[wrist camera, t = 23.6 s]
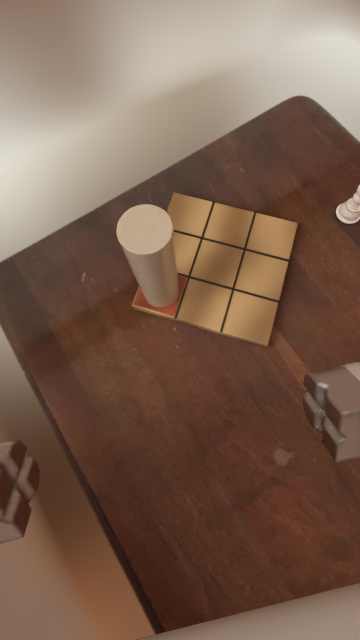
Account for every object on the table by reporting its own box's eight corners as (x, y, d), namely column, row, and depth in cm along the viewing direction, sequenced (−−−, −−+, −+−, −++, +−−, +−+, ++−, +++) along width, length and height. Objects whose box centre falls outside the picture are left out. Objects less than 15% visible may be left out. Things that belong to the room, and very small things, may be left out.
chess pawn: (352, 228, 35) (378, 201, 30) (330, 216, 35) (352, 187, 30) (364, 211, 35) (391, 181, 30) (342, 199, 36) (366, 168, 31)
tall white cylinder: (137, 301, 32) (107, 245, 21) (149, 269, 33) (127, 198, 21) (172, 312, 32) (162, 260, 20) (184, 278, 33) (180, 211, 21)
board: (133, 308, 33) (131, 305, 32) (174, 197, 37) (173, 191, 36) (265, 347, 31) (268, 346, 30) (295, 227, 35) (298, 222, 34)
